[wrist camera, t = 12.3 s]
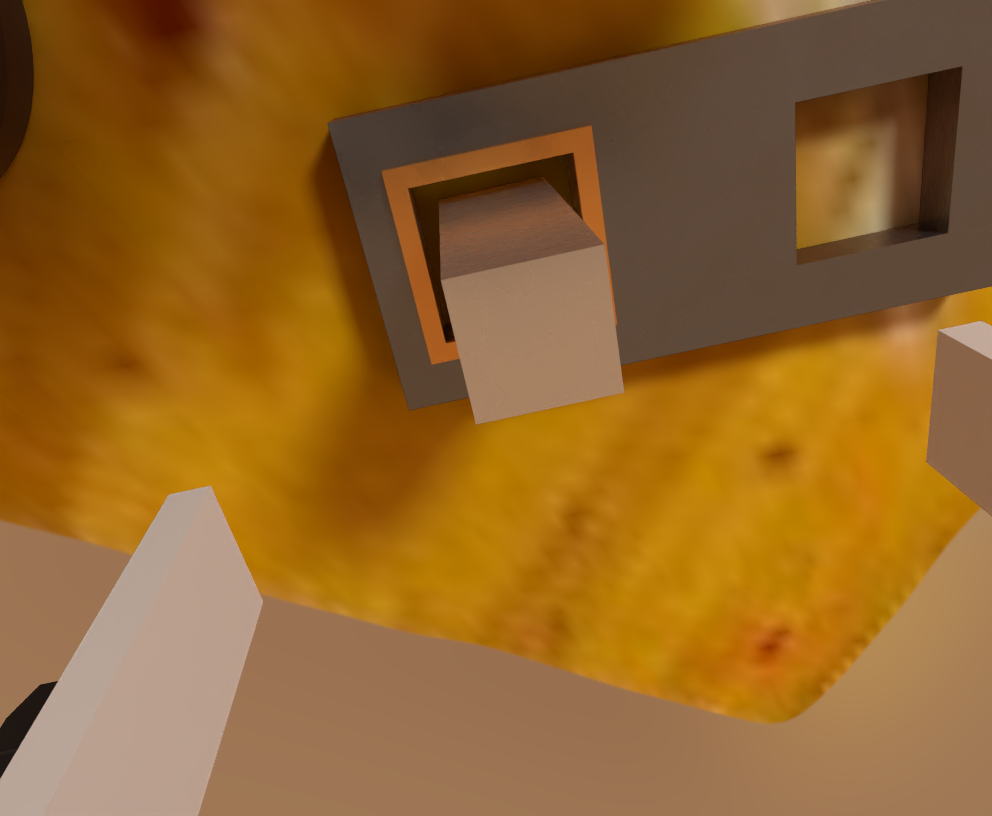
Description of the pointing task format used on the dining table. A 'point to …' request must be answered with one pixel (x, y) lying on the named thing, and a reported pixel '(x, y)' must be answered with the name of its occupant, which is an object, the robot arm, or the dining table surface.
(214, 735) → the robot arm
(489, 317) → the peg
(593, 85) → the grey peg board
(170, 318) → the dining table surface
